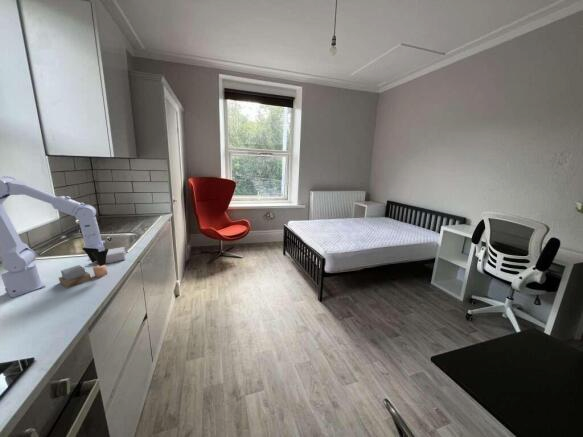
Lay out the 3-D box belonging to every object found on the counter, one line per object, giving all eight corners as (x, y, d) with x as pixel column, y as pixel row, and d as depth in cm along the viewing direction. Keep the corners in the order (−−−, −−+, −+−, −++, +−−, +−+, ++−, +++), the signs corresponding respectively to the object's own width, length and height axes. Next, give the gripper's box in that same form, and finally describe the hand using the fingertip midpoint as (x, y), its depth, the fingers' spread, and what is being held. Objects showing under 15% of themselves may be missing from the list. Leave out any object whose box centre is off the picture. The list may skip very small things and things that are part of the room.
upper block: (67, 280, 97) (65, 274, 96) (62, 277, 100) (60, 270, 100) (86, 274, 102) (84, 268, 101) (80, 271, 105) (78, 265, 104)
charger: (90, 261, 122) (125, 254, 130) (87, 268, 114) (125, 260, 122) (88, 252, 121) (124, 246, 128) (84, 258, 113) (123, 251, 121)
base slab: (67, 289, 97) (65, 282, 96) (60, 284, 101) (58, 277, 100) (91, 280, 103) (89, 274, 103) (83, 275, 107) (82, 269, 107)
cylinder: (97, 278, 104) (95, 269, 103) (93, 275, 106) (91, 267, 105) (109, 274, 108) (107, 265, 107) (104, 271, 110) (102, 263, 109)
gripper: (110, 233, 102) (116, 263, 105) (95, 228, 109) (101, 256, 113) (89, 238, 96) (97, 269, 99) (75, 233, 103) (83, 262, 107)
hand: (98, 263), depth 106 cm, fingers open, 7 cm apart
